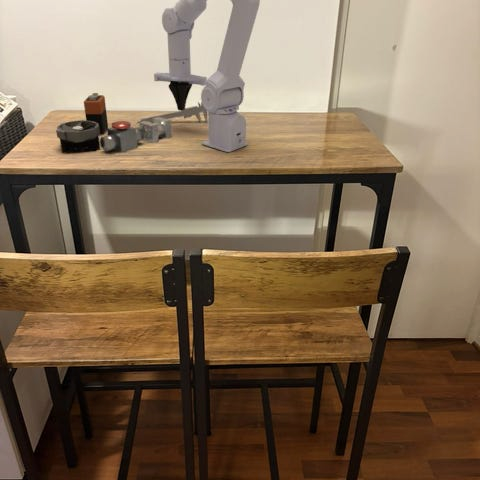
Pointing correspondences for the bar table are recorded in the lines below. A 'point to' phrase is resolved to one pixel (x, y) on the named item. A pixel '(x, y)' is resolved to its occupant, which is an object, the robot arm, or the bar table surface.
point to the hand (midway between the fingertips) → (181, 109)
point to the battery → (96, 111)
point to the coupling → (156, 129)
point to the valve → (121, 137)
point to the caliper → (180, 114)
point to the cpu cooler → (78, 136)
